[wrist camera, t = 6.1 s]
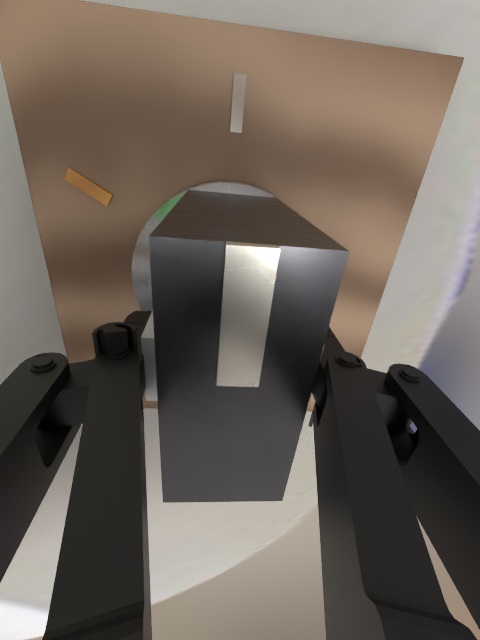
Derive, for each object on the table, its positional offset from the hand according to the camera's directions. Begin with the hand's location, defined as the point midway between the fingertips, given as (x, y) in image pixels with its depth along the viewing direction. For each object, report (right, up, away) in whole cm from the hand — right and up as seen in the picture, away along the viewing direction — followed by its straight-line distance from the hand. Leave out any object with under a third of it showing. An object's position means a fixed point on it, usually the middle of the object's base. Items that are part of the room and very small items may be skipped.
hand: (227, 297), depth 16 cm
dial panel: (0, +3, +6) cm, 7 cm away
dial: (0, +2, +3) cm, 4 cm away
